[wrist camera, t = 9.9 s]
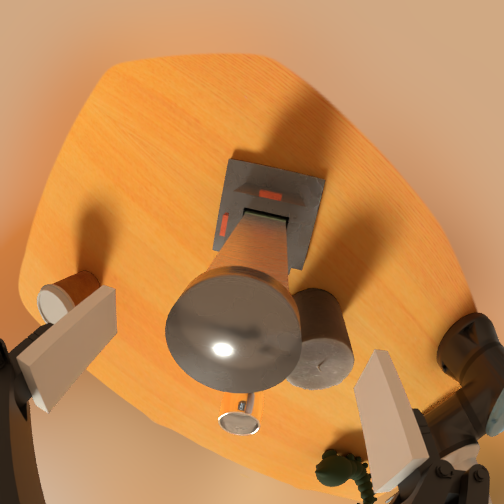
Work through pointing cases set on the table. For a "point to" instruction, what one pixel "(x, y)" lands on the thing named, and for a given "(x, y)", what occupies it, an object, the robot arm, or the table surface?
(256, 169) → the jack stand
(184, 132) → the table surface
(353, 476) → the toy figurine
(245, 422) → the beer glass
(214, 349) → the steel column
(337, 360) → the pillar candle
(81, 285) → the disposable coffee cup
